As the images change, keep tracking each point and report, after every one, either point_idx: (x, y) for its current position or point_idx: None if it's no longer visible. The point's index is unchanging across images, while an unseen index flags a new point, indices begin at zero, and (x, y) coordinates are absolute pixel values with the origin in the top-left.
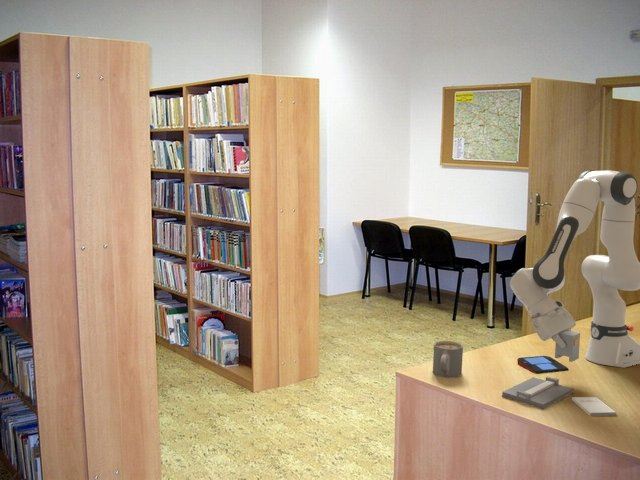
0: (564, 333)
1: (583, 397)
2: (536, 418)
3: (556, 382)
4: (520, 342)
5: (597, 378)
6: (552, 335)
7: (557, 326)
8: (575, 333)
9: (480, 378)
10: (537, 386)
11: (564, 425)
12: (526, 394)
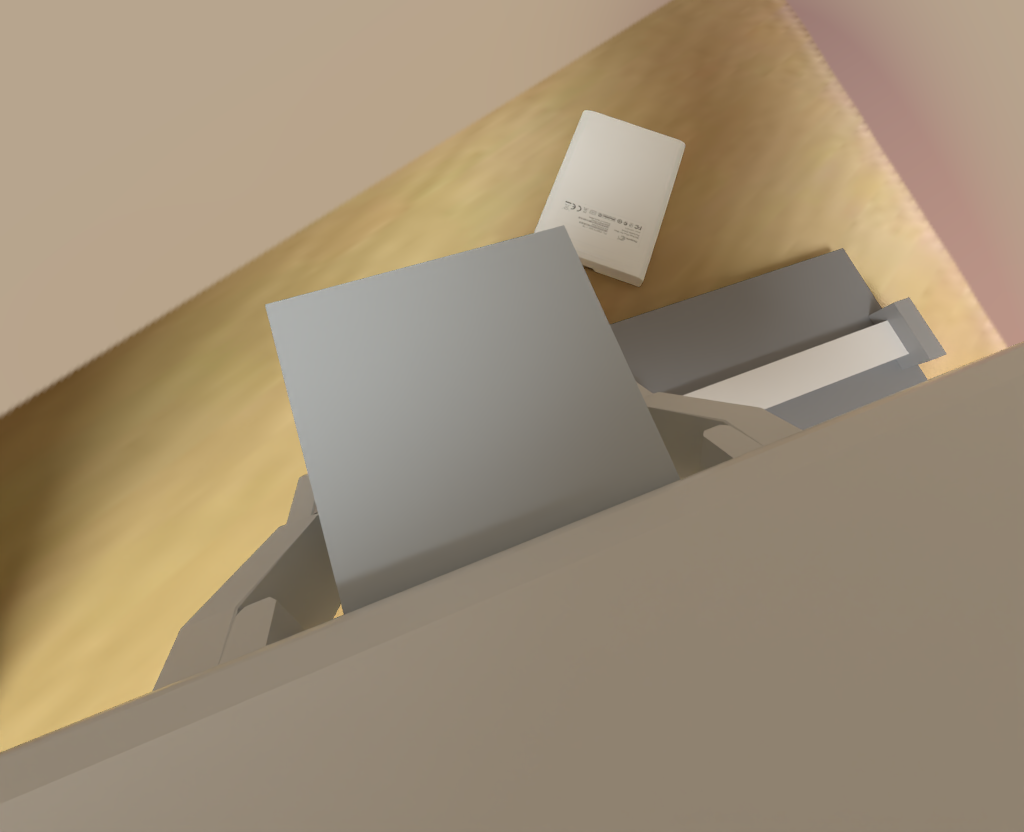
0: (613, 412)
1: (594, 259)
2: (895, 212)
3: None
4: None
5: (266, 454)
6: (978, 360)
7: (815, 600)
8: (397, 315)
9: None
10: (774, 396)
11: (826, 137)
12: (914, 307)
